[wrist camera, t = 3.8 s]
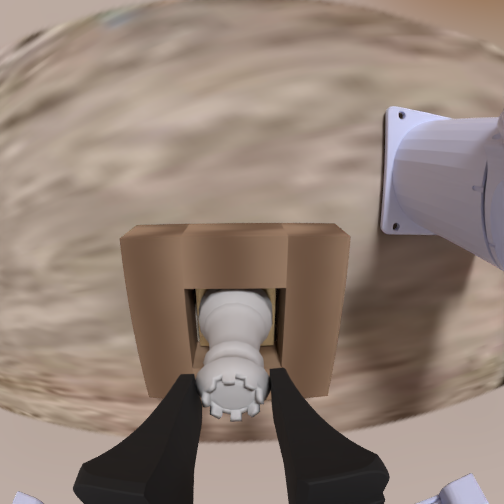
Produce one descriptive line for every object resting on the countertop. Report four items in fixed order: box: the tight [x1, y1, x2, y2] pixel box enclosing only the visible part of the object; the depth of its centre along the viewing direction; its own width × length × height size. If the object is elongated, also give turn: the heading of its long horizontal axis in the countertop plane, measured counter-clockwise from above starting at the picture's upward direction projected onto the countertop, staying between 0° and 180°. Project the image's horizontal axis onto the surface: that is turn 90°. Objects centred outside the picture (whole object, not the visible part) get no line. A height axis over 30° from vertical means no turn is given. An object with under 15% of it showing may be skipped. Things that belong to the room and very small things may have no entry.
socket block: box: [120, 223, 350, 400], centre depth 19 cm, size 12×11×3 cm
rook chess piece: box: [195, 288, 273, 422], centre depth 15 cm, size 4×4×8 cm
